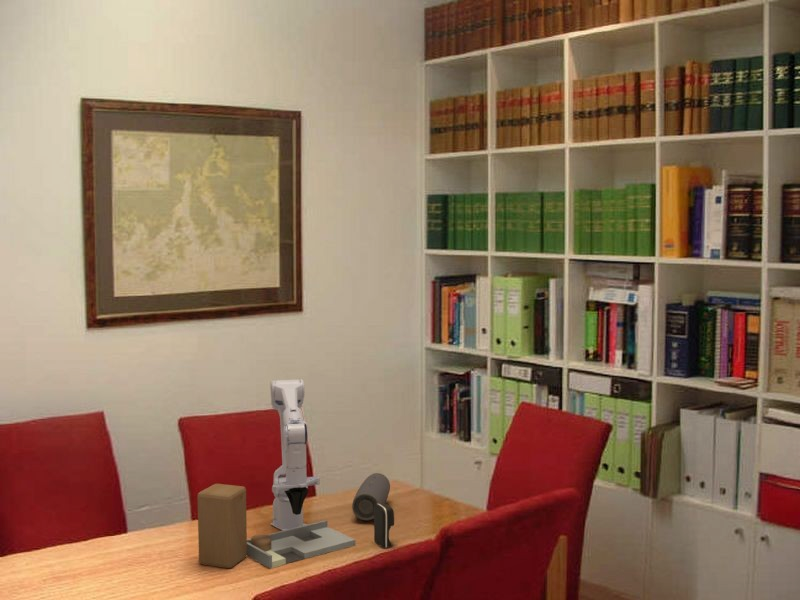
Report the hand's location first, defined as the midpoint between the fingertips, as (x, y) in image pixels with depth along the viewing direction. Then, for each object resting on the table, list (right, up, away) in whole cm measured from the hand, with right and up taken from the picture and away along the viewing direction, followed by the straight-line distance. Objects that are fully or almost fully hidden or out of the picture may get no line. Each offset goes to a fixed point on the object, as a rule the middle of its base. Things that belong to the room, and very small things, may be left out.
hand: (296, 513), depth 277 cm
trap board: (+1, -10, 0) cm, 10 cm away
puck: (-9, -9, -4) cm, 13 cm away
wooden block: (-19, -11, -9) cm, 24 cm away
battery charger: (+25, -10, +4) cm, 27 cm away
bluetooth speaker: (+20, -7, +32) cm, 38 cm away
